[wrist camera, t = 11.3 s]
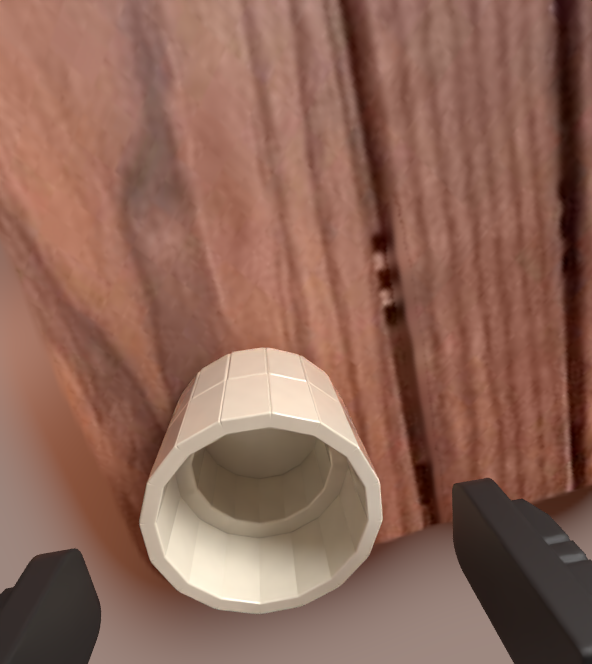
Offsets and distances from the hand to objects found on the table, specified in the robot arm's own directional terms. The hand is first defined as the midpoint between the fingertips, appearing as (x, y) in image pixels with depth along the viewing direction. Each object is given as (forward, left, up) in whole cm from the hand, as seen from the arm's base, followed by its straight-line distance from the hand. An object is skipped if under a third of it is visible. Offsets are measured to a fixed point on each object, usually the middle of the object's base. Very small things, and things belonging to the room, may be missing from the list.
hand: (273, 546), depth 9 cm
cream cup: (0, 0, -6) cm, 6 cm away
